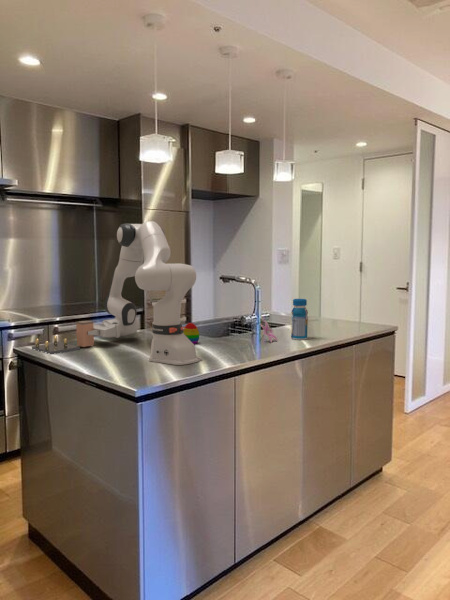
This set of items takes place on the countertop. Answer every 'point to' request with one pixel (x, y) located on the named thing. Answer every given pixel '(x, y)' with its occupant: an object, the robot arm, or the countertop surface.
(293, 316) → the beverage bottle
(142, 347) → the countertop surface
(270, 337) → the lily
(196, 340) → the decorative egg
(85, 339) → the block
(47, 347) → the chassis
